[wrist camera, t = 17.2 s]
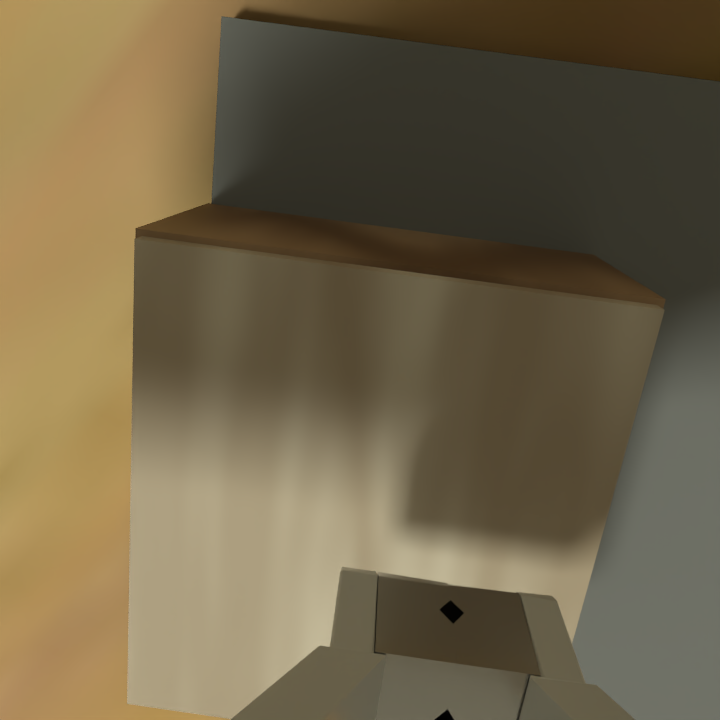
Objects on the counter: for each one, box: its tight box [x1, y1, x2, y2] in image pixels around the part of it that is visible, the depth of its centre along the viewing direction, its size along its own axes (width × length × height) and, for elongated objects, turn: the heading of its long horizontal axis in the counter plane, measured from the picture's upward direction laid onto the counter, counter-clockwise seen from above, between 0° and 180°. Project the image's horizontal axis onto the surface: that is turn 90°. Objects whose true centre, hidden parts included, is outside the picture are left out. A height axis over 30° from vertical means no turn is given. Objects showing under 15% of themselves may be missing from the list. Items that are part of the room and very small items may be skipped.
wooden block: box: [127, 203, 666, 719], centre depth 13 cm, size 4×9×8 cm
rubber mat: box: [212, 17, 720, 720], centre depth 16 cm, size 14×16×1 cm
